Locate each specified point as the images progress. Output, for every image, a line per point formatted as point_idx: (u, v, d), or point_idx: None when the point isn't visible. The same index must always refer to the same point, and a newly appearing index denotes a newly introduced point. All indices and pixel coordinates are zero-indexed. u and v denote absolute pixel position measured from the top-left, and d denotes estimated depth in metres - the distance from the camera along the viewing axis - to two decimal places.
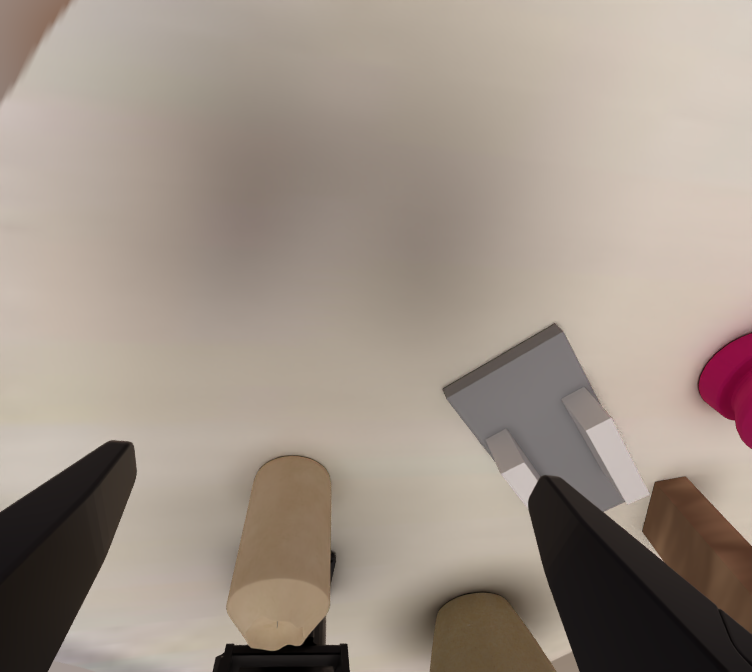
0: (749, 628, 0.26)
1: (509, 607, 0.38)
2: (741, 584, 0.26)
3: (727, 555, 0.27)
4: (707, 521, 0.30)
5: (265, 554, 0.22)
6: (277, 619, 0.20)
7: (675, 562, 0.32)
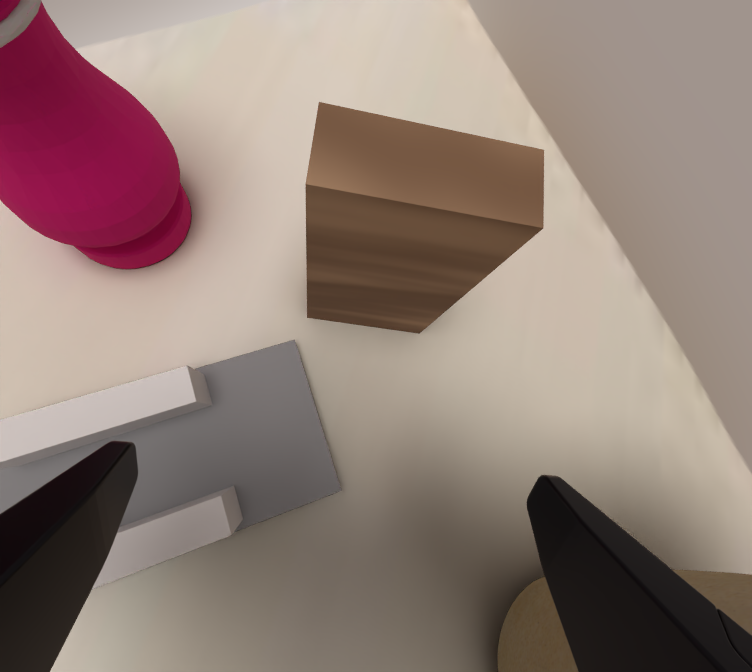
0: (382, 256, 0.14)
1: (534, 590, 0.20)
2: (308, 260, 0.15)
3: None
4: None
5: None
6: None
7: (410, 312, 0.20)
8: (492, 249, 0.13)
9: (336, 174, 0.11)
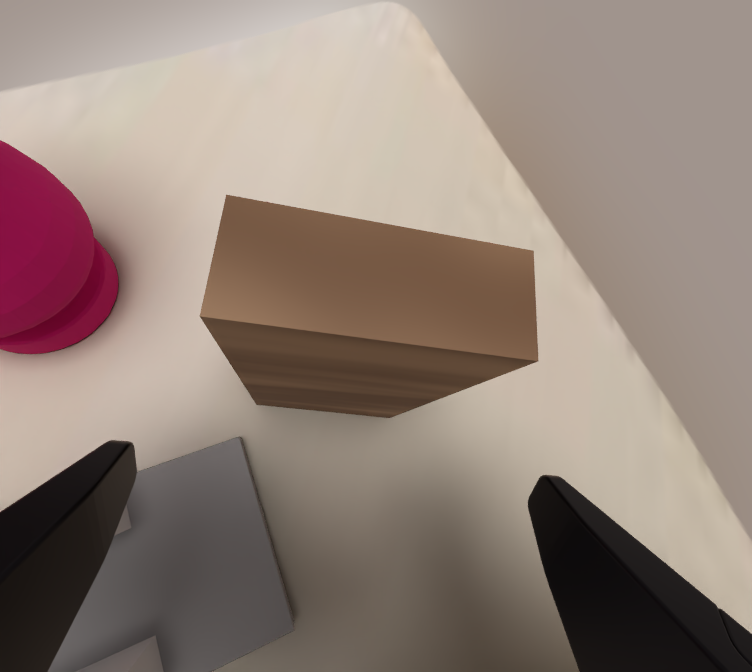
0: (330, 372, 0.11)
1: None
2: (237, 371, 0.12)
3: None
4: None
5: None
6: None
7: (376, 406, 0.17)
8: (470, 373, 0.10)
9: (248, 299, 0.07)
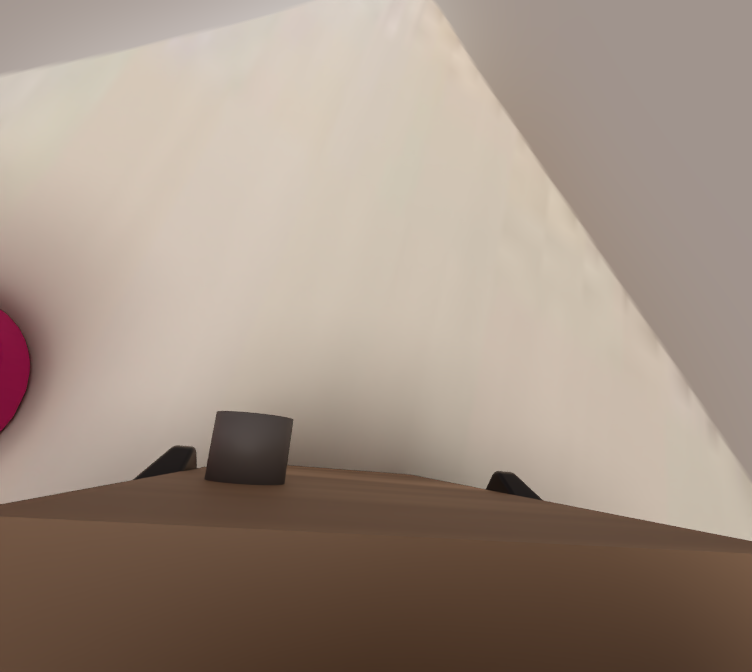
0: None
1: None
2: None
3: None
4: None
5: None
6: None
7: None
8: None
9: None
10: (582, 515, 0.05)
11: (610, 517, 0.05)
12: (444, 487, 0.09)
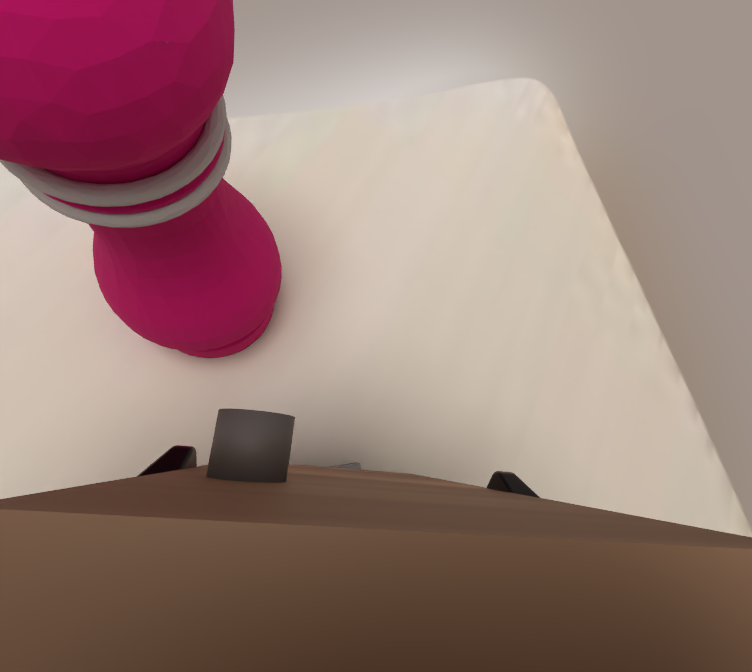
0: None
1: None
2: None
3: None
4: None
5: None
6: None
7: None
8: None
9: None
10: (584, 512, 0.05)
11: (612, 514, 0.05)
12: (445, 485, 0.09)
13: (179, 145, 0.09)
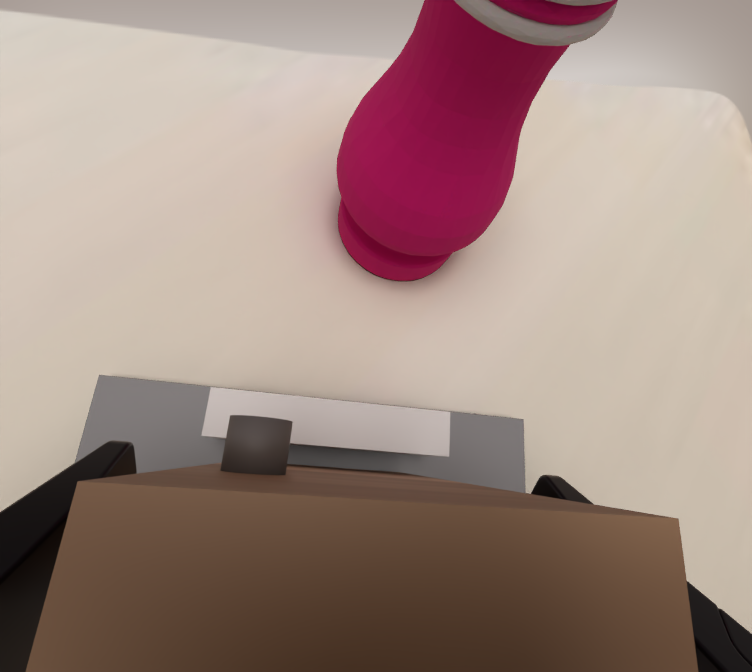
0: None
1: None
2: None
3: None
4: None
5: None
6: None
7: None
8: None
9: None
10: (521, 496, 0.07)
11: (543, 498, 0.07)
12: (423, 480, 0.10)
13: None
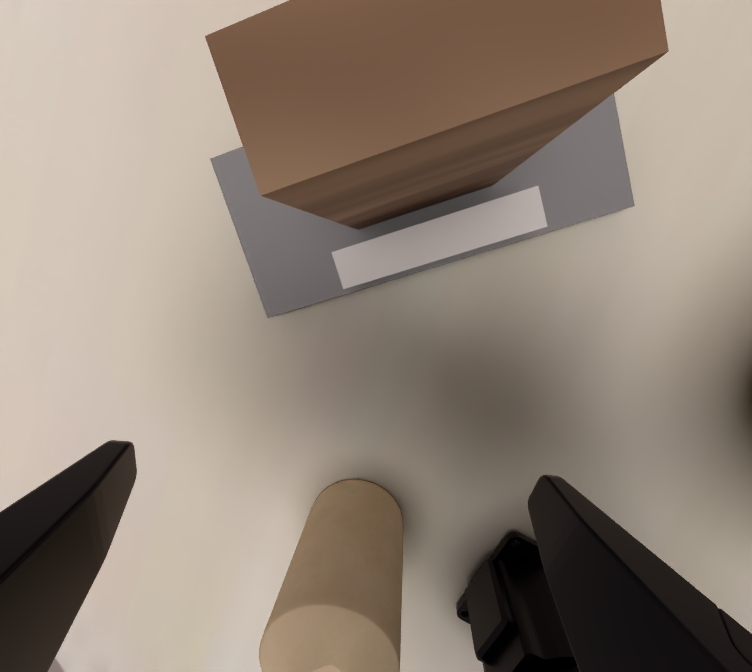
0: (411, 178, 0.10)
1: None
2: (324, 216, 0.12)
3: None
4: None
5: None
6: None
7: (474, 183, 0.15)
8: (573, 107, 0.08)
9: (292, 153, 0.07)
10: None
11: None
12: None
13: None
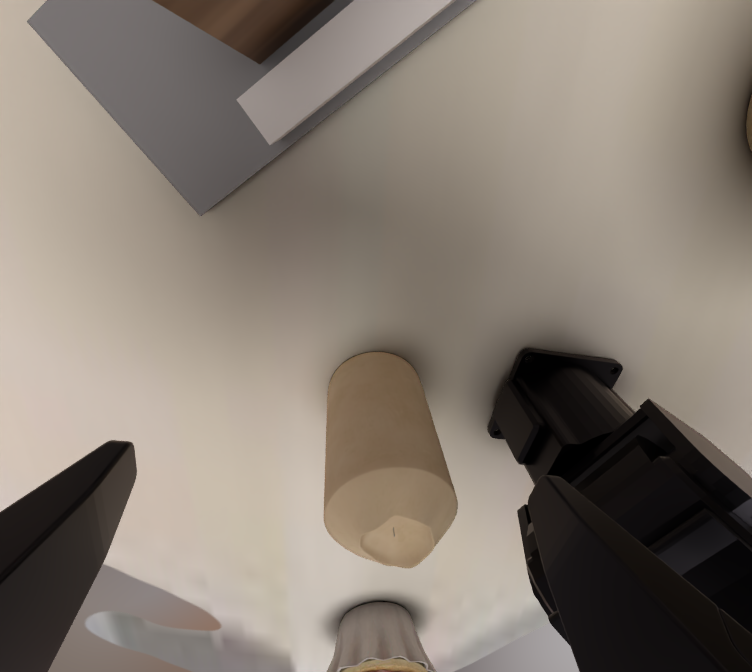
0: None
1: None
2: (195, 21, 0.08)
3: None
4: None
5: None
6: (358, 542, 0.15)
7: None
8: None
9: None
10: None
11: None
12: None
13: None
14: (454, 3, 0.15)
